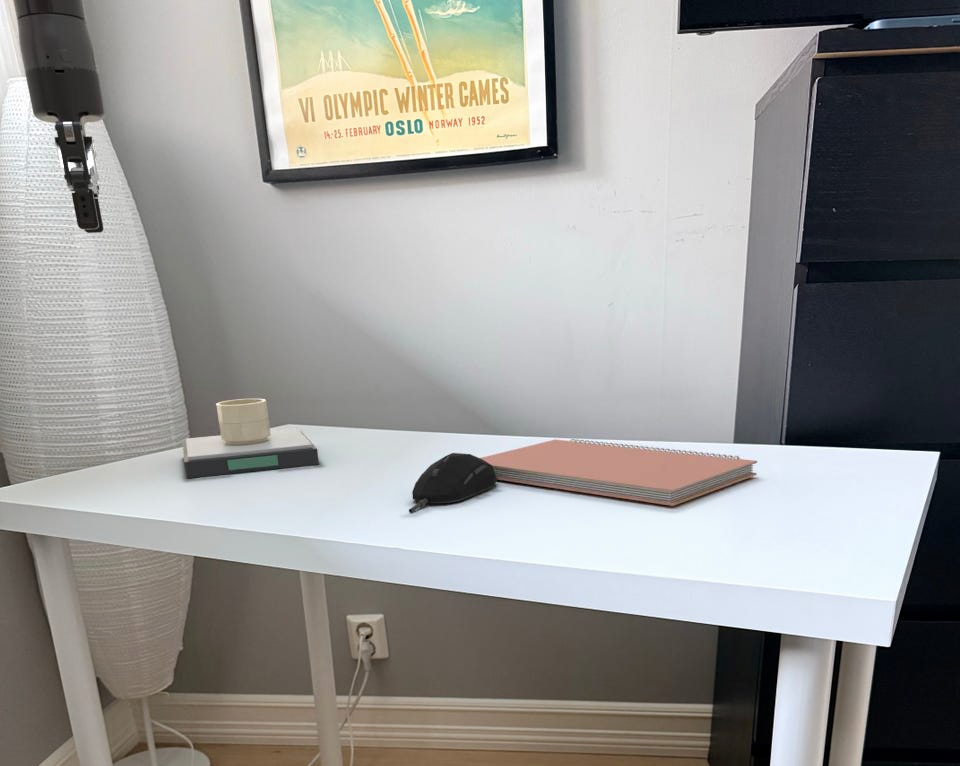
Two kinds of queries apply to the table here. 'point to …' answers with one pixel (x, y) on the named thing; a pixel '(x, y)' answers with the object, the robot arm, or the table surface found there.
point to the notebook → (620, 470)
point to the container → (243, 421)
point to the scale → (248, 454)
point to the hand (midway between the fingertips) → (91, 230)
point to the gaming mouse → (453, 480)
